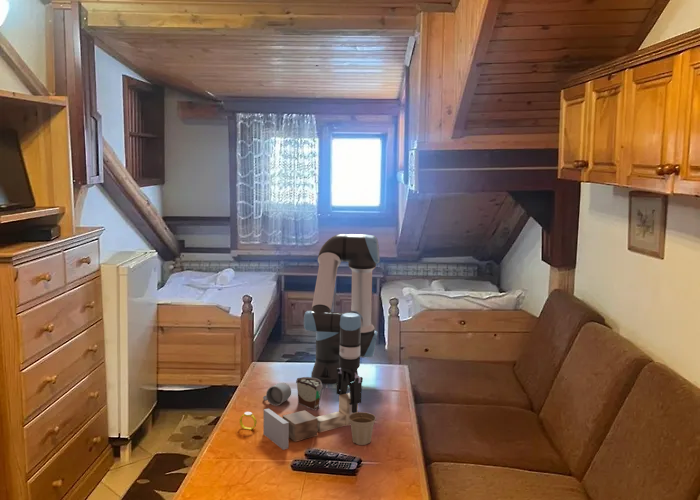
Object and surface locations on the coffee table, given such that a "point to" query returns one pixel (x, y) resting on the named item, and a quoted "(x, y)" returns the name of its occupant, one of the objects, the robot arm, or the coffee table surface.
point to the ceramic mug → (278, 394)
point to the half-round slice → (309, 392)
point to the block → (301, 425)
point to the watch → (248, 416)
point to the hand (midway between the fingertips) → (348, 417)
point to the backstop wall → (276, 429)
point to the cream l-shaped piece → (336, 415)
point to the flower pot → (361, 427)
